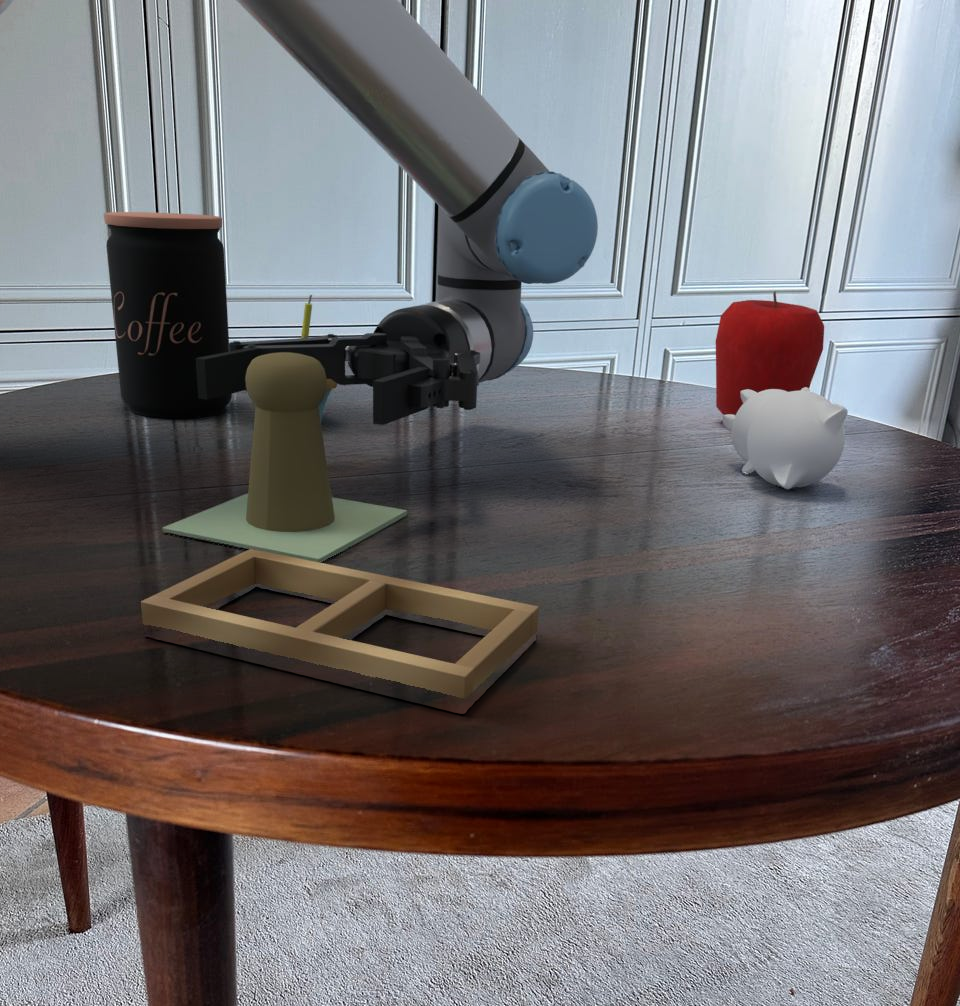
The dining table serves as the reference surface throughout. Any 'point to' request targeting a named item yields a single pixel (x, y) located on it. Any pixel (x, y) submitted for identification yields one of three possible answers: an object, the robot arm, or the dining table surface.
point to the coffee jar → (167, 308)
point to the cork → (288, 445)
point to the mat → (312, 545)
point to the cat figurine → (788, 435)
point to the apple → (765, 349)
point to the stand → (345, 619)
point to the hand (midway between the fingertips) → (286, 390)
